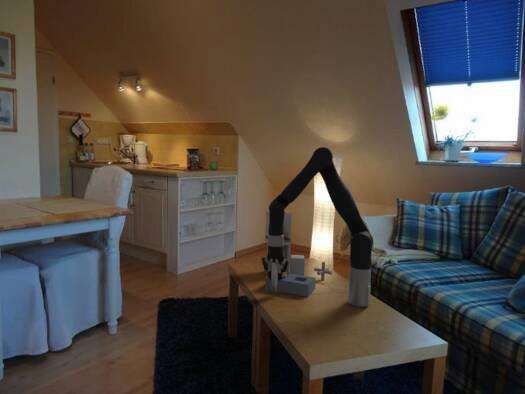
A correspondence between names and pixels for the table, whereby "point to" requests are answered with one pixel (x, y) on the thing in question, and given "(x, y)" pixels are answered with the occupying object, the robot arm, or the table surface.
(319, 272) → the pipe connector
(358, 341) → the table surface
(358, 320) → the table surface
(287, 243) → the display case
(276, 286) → the steel pin
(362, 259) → the robot arm
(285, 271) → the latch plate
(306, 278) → the pin block
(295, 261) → the supplement box
